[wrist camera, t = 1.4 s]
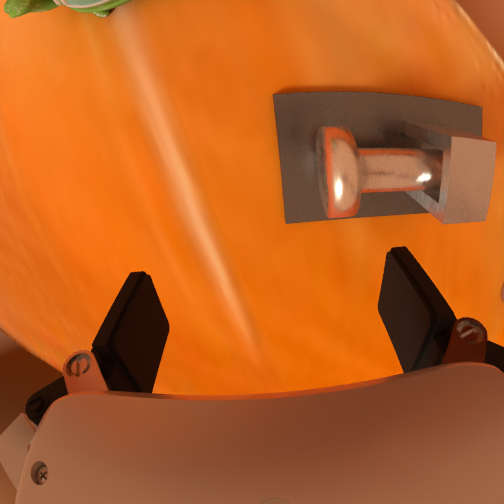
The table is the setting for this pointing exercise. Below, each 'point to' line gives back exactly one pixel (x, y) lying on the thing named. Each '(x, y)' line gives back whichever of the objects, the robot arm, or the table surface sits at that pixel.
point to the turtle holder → (96, 3)
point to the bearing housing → (387, 136)
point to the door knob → (369, 170)
